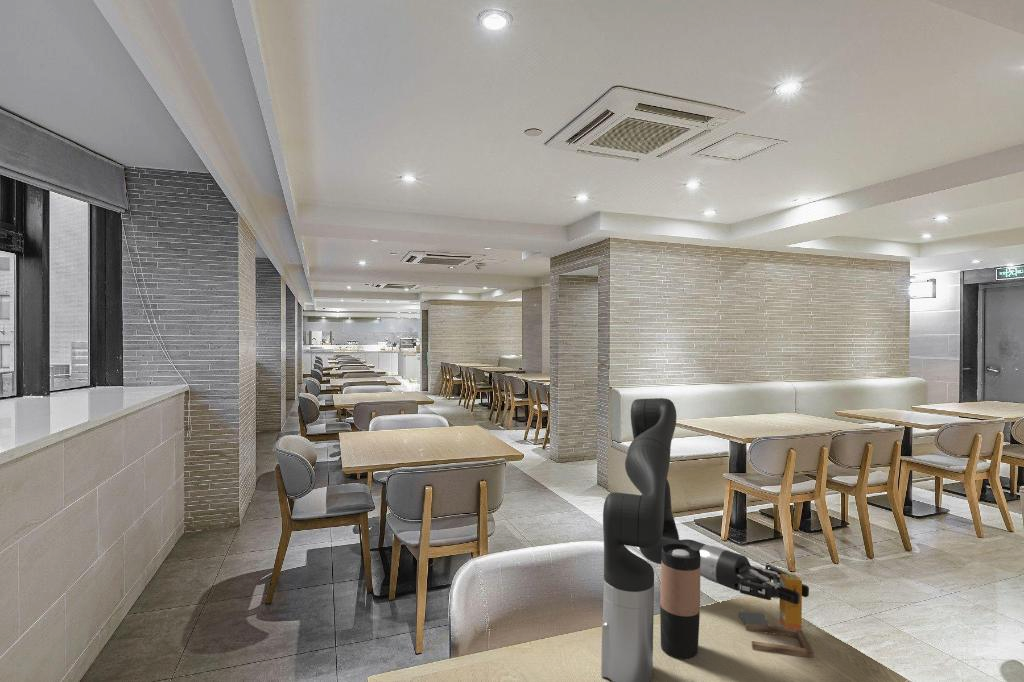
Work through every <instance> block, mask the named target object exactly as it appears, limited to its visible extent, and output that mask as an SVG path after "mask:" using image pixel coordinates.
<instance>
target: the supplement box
mask: <svg viewBox="0 0 1024 682" xmlns="http://www.w3.org/2000/svg"><path fill="white" fill-rule="evenodd" d="M802 584H803V580H802V579H800V578H799V576H797V575H796V574H793V573H791V574H789V573H788V574H780V586H781V587H784V588H787V589H790V590H792V591H795V592H798V593H799V594H800V602H799V603H798V604H794V603H791V602H788V601H785V600H783V599H780V598H779V623H781V625H782V626H783V627H784V628H786V629H799V630H802V626H803V625H802V623H803V622H802V620H803V619H802V617H803V615H802V613H803V612H802V606H803V605H802V604H803V599H802V598H803V596H802Z"/></svg>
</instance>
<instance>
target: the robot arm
mask: <svg viewBox="0 0 1024 682" xmlns="http://www.w3.org/2000/svg"><path fill="white" fill-rule="evenodd" d="M630 422H631V423H630V424H631V430H632V437H633V440H632V442H630V445H629V447H628V449H627V452H626V453H627V454H626V456H625V462H624V467H625V472H626V475H627V477H628V478H629V480H630V481H631V483H632V484H633V486H634V487H635V488H636V490H638V492H640V493H641V494H633V493H625V492H624V493H623V492H613V491H612V492H610V493H609V494H608V495H607V496H606V497H605V499H604V504H603V511H602V529H603V531H602V532H603V600H602V601H603V606H602V607H603V608H602V610H603V611H602V613H603V614H602V623H601V661H600V663H601V664H600V665H601V667H600V675H601V678H607V679H609V680H611V682H650V681H651V680H652V678H653V666H654V665H653V664H654V661H653V660H654V659H653V658H654V611H655V610H654V609H655V607H654V604H655V569H654V567H653V566H652V565H651V563H650V562H652V563H654V564H658V565H661V559H662V547H663V546H664V545H667V544H672V543H678V544H685V545H688V546H689V547H690V548H691V549H692V550H695V551H697V550H699V551H700V555H701V563H700V577H703V578H705V579H707V580H708V581H711V582H713V583H716V584H719V585H721V586H724V587H726V588H729V589H732V590H734V591H737V592H739V593H741V594H743V595H746V596H750V597H755V598H757V599H758V598H760V599H762V600H767V601H772V599H774V600H778V599H779V600H780V599H783V600H785V601H788V602H791V603H794V604H798V603H799V602H800V594H799V593H798V592H795V591H792V590H790V589H787V588H784V587H781V586H780V574H789V573H787V572H785V571H783V570H782V569H779V568H777V567H774V566H772V565H771V564H765V568H763V567H761V566H757V565H756V566H754V565H752V564H750V561H749V559H748V557H747V556H745V555H743V554H740V553H736V552H734V551H730V550H728V549H725V548H721V547H718V546H714V545H711V544H710V545H708V544H705V543H703V542H701V541H696V540H693V539H688V538H684V539H680V535H679V531H678V527H677V525H676V521H675V517H674V515H673V513H672V496H671V495H672V494H671V487H670V483H669V481H668V475H669V469H670V461H671V447H672V440H673V437H674V434H675V429H676V425H677V409H676V406H675V403H674V402H673V401H672V400H671V399H669V398H661V397H660V398H659V397H658V398H636V399H634V400H633V401H632V403H631V407H630ZM626 546H628V547H629V546H630V547H635V548H639V551H640V553H641V554H642V556H643V557H644V558H645V559H644V558H642V557H641V556H639V555H636V554H635V553H634V552H632V551H630V549H628V548H627V547H626ZM646 559H647V560H648V561H650V562H648V561H647V560H646ZM809 587H810V586H808V585H806V584H803V583H802V598H803V597H804V598H808V597H809V596H810V588H809Z"/></svg>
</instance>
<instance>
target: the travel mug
mask: <svg viewBox="0 0 1024 682" xmlns="http://www.w3.org/2000/svg"><path fill="white" fill-rule="evenodd" d="M700 563H701V555H700V551H699V550H697V551H695V550H692V549H691V548H690V547H689V546H688V545H685V544H678V543H672V544H667V545H664V546H663V547H662V559H661V564H660V565H661V568H660V592H659V593H660V594H659V595H660V596H659V598H660V599H659V603H660V605H659V606H660V607H659V610H660V611H659V614H660V615H659V618H660V621H659V622H660V624H659V625H660V629H659V630H660V648H661V650H662V651H663V652H664V653H665V655H667V656H669V657H671V658H674V659H678V660H692V659H693V658H695V657H696V656H697V655H698V652H699V651H698V650H699V649H698V648H699V634H700V620H701V619H700V618H701V616H700V615H701V614H700V613H701V576H700Z"/></svg>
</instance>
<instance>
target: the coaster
mask: <svg viewBox="0 0 1024 682" xmlns="http://www.w3.org/2000/svg"><path fill="white" fill-rule="evenodd" d="M739 614H740V617H741V619H742V623H743V625H744V626H745V622H746V623H753V624H761V625H768V626H770V625H769V623H768V621H767V617H766V616H765V613H762V612H753V611H752V612H751V611H746V610H745V611H744V610H740V611H739Z"/></svg>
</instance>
